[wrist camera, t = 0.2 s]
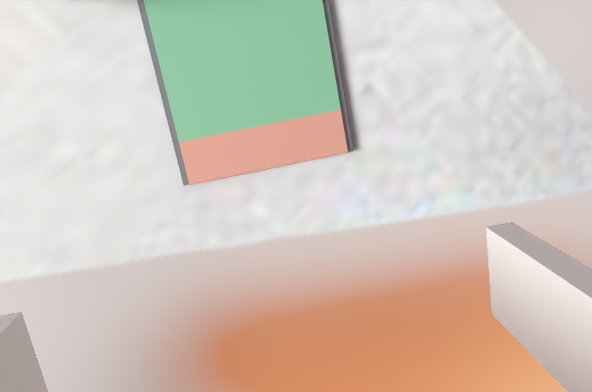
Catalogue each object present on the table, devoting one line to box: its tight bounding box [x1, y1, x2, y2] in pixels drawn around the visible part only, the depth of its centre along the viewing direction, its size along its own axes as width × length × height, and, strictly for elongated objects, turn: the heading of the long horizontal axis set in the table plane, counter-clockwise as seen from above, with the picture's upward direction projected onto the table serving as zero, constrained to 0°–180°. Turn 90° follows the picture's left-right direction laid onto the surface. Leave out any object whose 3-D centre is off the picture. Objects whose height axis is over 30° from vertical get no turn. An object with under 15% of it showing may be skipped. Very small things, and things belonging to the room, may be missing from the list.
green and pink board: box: [137, 0, 353, 185], centre depth 38 cm, size 21×14×1 cm, turn 11°
